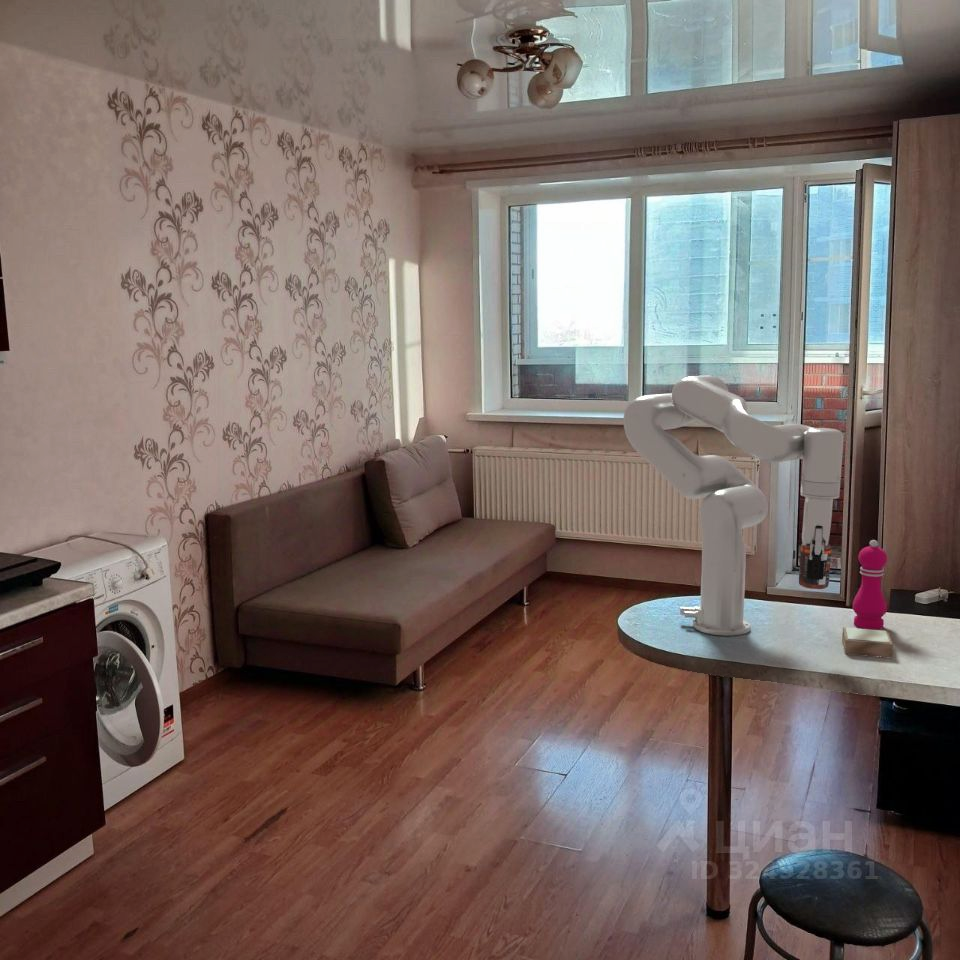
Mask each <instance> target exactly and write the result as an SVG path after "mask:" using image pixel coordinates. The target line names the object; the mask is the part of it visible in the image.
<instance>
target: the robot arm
mask: <svg viewBox="0 0 960 960" xmlns="http://www.w3.org/2000/svg"><path fill="white" fill-rule="evenodd" d="M747 411H748V405H747V402H746V400H745V399H744V398H743V397H742V396H740V395H737V394H735V393H732V392H731V391H729V389H728V386H727V384H726V383H725V382H724V381H723V380H722V378H720V377H718V376H714V375H692V376H691V375H690V376H686V377H684V378H681V379H680V380H678V381H677V382H676V383H675V385H674V386H673V387H672V390H671V392H670V393H660V394H656V393H655V394H646V395H642V396H639V397H636V398H634V399H633V400H631V401H630V403H628V405H627V406H626V407H625V410H624V413H623V429H624V433H625V436H626V438H627V440H628V442H629V444H630V445H631V446H632V448H633V449H634V450H635V451H636V453H638V455H640V456H641V457H642V458H643V459H644V460H646V461H647V462H648V464H650V465H651V466H652V467H653V468H654V469H655V470H656V472H658V473H659V474H660V475H661V477H663V478H664V479H665V480H666V482H667V483H669V485H671V486H672V487H673V489H675V490H676V491H677V492H678V493H679V494H680V495H681V496H682V497H684V498H685V499H688V500H699V499H700V500H701V499H703V500H702V502H701V503H700V506H699V513H698V515H699V516H698V518H699V525H700V530H701V574H700V575H701V581H700V583H701V584H700V603H699V605H698V606H694V607H688V606H680V607H679V615H680V616H684V618H693V620H692V627H693V628H694V629H695V630H697V631H699V632H701V633H705V634H708V635H713V636H728V637H729V636H730V637H731V636H732V637H733V636H739V635H744V634H747V633H749V632H750V631H751V624H750V622H748V621H747V620H745V619H744V617H745V616H744V614H745V593H746V591H745V590H746V589H745V588H746V569H747V568H746V566H747V561H746V559H747V549H746V548H747V547H746V542H745V538H744V535H743V532H742V531H743V529H747V528H751V527H754V526H757V525H759V524H760V523H762V522H763V520H764V519H766V517H767V515H768V511H769V509H768V508H769V506H768V501H767V498H766V496H765V494H764V493H763V491H762V490H761V489H760V488H759V487H758V486H757V485H756V484H755V483H754V482H753V481H752V480H751V479H750V478H749V477H748V476H747V475H745V474H744V472H742V471H741V470H740V469H739V468H738V467H737V466H736V465H734V464H733V463H732V462H731V461H730V460H728V459H726V458H725V457H722V456H720V455H714V454H711V455H710V454H708V455H702V456H701V455H698V454H695V453H693V451H691V450H690V449H689V448H688V447H687V446H685V444H684V443H683V442H682V441H680V440H679V439H678V438H676V437H675V436H673V435H671V434H670V433H668V432H666V431H665V430H672V429H673V430H674V429H678V428H681V427H685V426H687V425H689V424H692V423H695V422H696V421H700V422H702V423H703V424H706V425H707V426H710V427H712V428H714V429H716V430H717V431H719V432H721V433H723V435H724V436H725V438H727V440H728V441H729V442H730V443H731V444H732V445H733V446H734V447H736V448H737V449H738V450H741V451H743V452H745V453H746V454H747V455H748V454H749V455H751V456H752V457H754V458H757V459H758V460H760V461H764V462H767V463H770V464H771V463H773V464H777V463H782V462H788V461H789V462H790V461H794V460H795V461H797V460H802V464H801V465H802V466H801V482H800V496H802V497H804V498H805V499H804V503H803V504H804V506H803V514H802V515H803V516H802V517H803V519H802V532H801V542H802V543H803V544H804V545H806V544H810V553H809V559H808V563H807V578H808V579H819V580H822V579H823V575H824V561H825V560H824V547H826V546H827V545H828V544H829V541H830V534H831V527H832V526H831V525H832V516H833V505H834V503H833V502H834V500H836V499H839V498H840V491H841V479H842V477H841V476H842V465H843V453H844V452H843V450H844V433H843V432H842V431H841V430H839V429H836V428H831V427H830V428H828V427H812V426H810V425H805V424H801V423H789V424H780V425H771V424H769V423H766V422H765V421H762V420H760V419H758V418H756V417H754V416H753V415H750V414H749V413H747ZM825 540H826V541H825ZM812 542H815V544H812ZM813 548H815V549H813ZM812 553H813V554H812Z"/></svg>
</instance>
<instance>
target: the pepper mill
mask: <svg viewBox="0 0 960 960" xmlns="http://www.w3.org/2000/svg"><path fill="white" fill-rule="evenodd" d="M858 553H859V554H858V557H857V558H858V561H859V564H860V565H861V566H860V568H859V569H860V571H859V573H860V574H861V584H860V588H859V590H858V591H857V593H856V595H855V596H854V599H853V601H852V610H853V611H854V613H855V614H856V615H855V616H854V617H853V625H854V627H856V628H858V629H871V630H882V629H884V623H885V621H884V619H883V618H882V617H884V616H885V614H887V610H888V605H887V602H886V599H885V596H884V593H883V590H882V585H881V584H882V577H883V576H884V575H885V573H884V571H885V569H884V566H886V564H887V563H888V556H887V555H888V554H887V553H886V551H885V550H884V549H883V548H881V547H879V542H878V541H877V540H875V539H872V540H870V541H869V546H865V547H864V548H862V549H861V550H860V551H859V552H858Z"/></svg>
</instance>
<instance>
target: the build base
mask: <svg viewBox="0 0 960 960" xmlns="http://www.w3.org/2000/svg"><path fill="white" fill-rule="evenodd" d="M841 633H842V635H841V642H842V643H841V644H842V645H843V646H842V647H844V648H843V650H844V655H850V654H851V655H852V656H853V655H854V656H861V655H867V656H866V657H872V656H879V657H878V658H884V657H892V658H893V645H894V644H893V642H892V639H891V636H890V633H889V631H888V630H882V629H880V630H871V629H861V628H858V627H856V628H855V627H842V632H841ZM880 656H881V657H880Z"/></svg>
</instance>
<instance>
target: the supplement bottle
mask: <svg viewBox="0 0 960 960" xmlns="http://www.w3.org/2000/svg"><path fill="white" fill-rule="evenodd" d="M825 541H826V540H825ZM812 544H815V542H812ZM813 549H815V548H813ZM809 553H810V544H806V545H804V544H803V542H802V543H801V545H800V559H799V570H798V571H799V572H798V584H799V586H801V587H803V588H806V589H812V590H824V589H826V588H829V583H830V571H831V561H832V560H831V559H832V546H831V544H830V543H828V545H827V546H826V547H824V560H825V561H824V575H823V579H822V580H819V579H808V578H807V563H808V559H809ZM812 554H813V553H812Z"/></svg>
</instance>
